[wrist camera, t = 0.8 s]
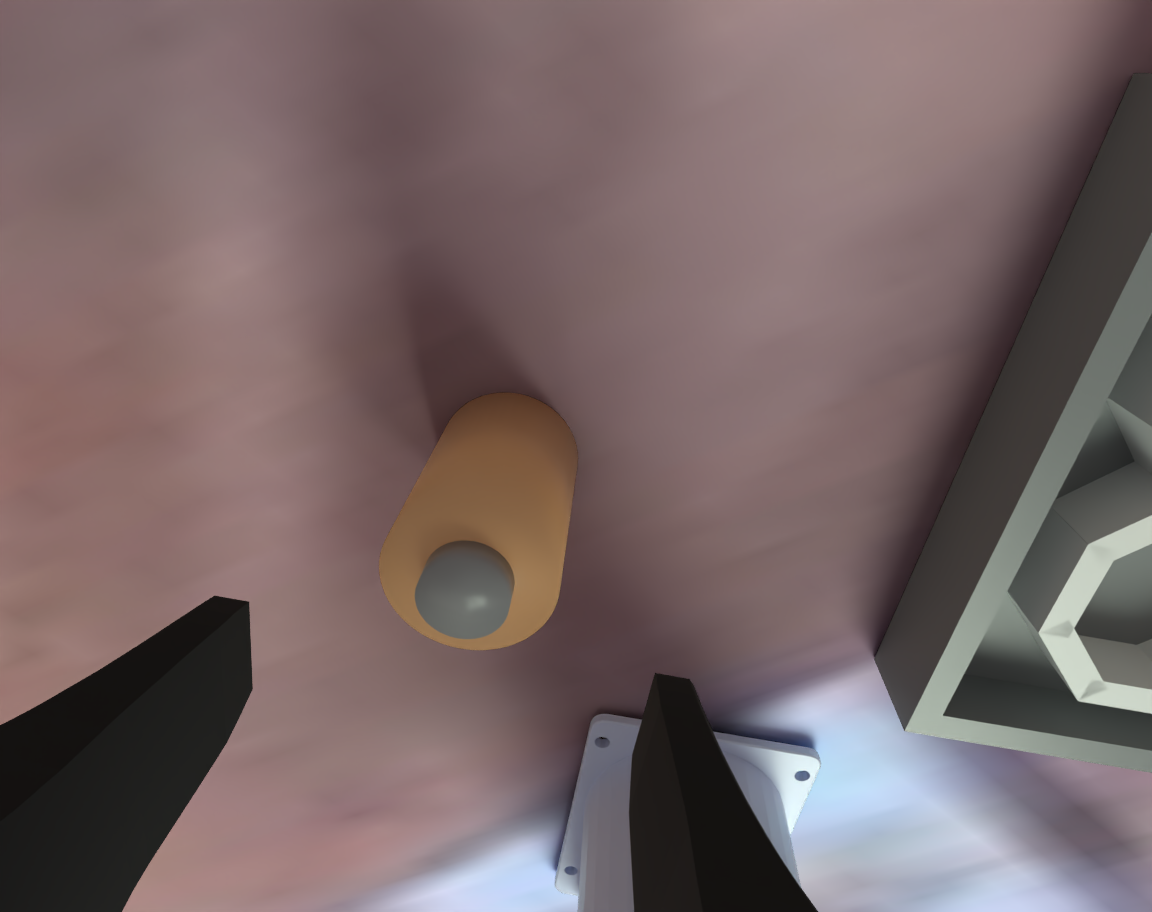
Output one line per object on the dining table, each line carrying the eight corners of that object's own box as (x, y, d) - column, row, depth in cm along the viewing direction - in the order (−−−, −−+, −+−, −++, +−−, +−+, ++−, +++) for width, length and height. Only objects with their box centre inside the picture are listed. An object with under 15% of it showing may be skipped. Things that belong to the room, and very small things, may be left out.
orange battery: (566, 526, 23) (543, 688, 17) (436, 503, 23) (364, 658, 17) (588, 405, 21) (570, 538, 15) (446, 381, 21) (370, 504, 15)
